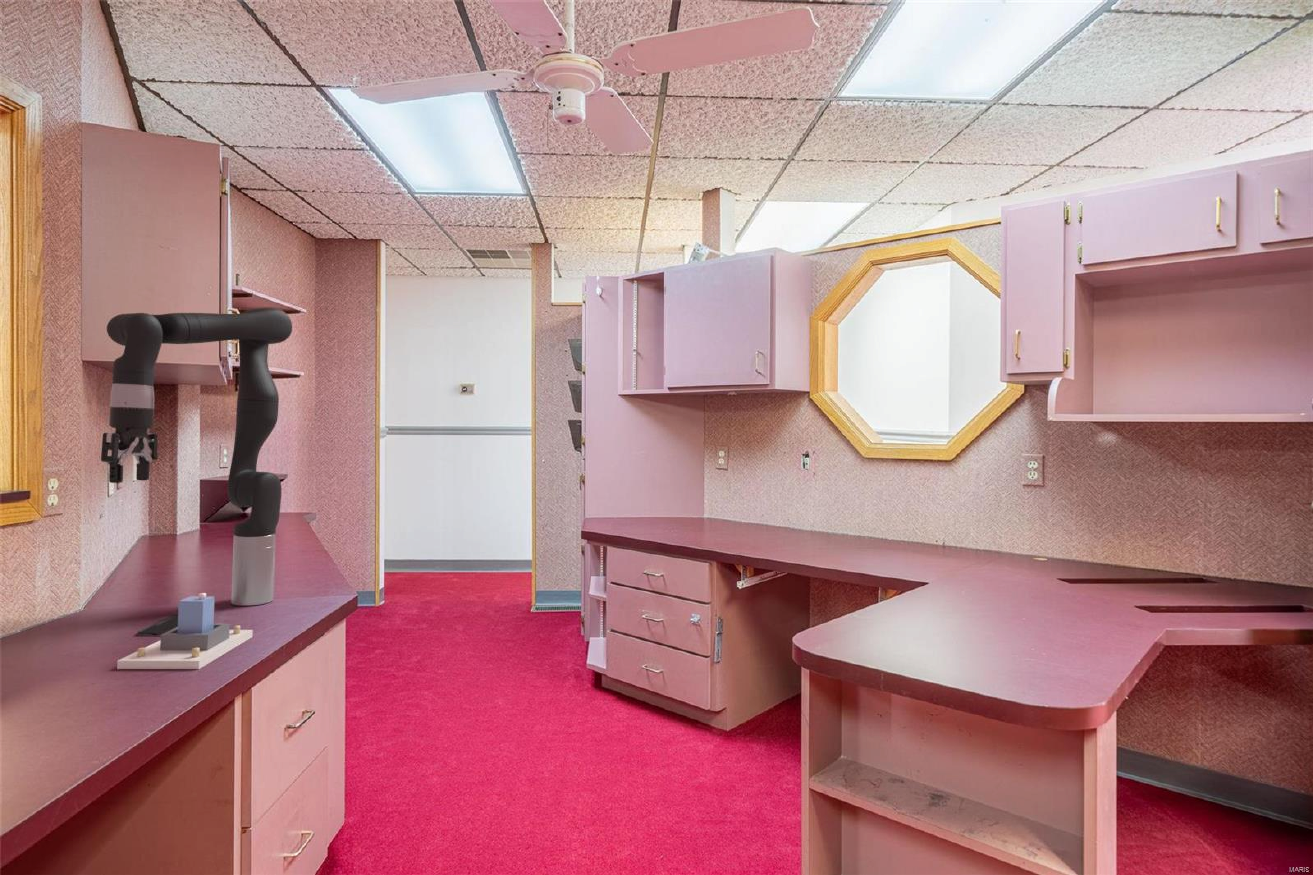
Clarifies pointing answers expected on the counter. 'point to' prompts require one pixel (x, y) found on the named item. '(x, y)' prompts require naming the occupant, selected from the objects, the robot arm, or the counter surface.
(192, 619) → the block
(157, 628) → the phone
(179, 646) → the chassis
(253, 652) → the counter surface
